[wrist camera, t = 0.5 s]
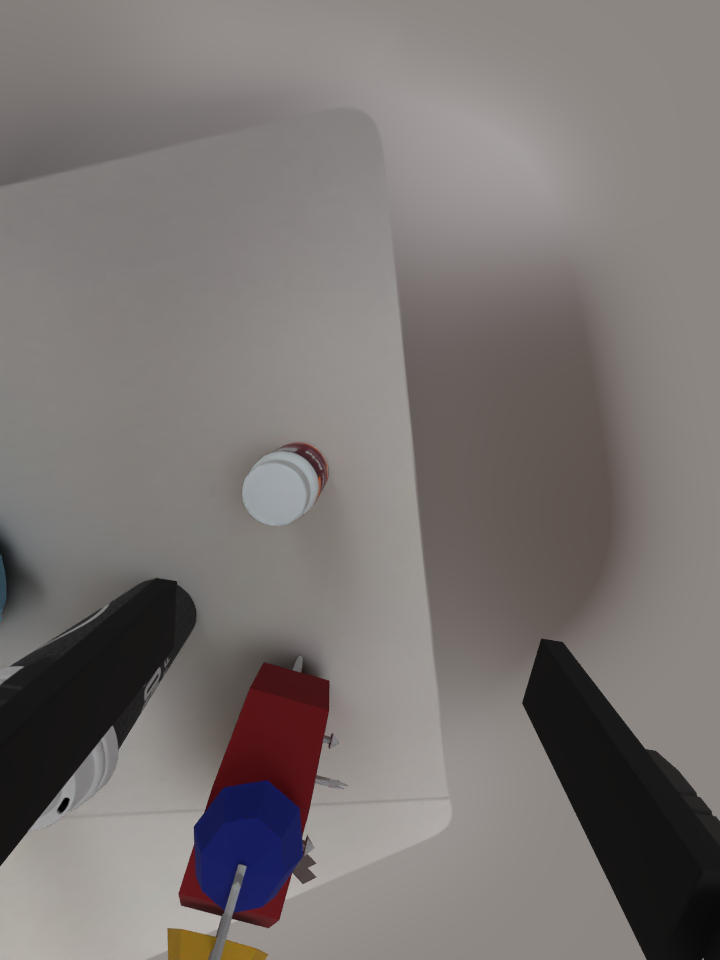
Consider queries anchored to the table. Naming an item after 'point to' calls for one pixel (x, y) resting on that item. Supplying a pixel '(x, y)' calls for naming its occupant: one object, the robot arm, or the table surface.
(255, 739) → the alarm clock
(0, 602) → the teapot
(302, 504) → the pill bottle
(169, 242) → the table surface
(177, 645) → the coffee cup
